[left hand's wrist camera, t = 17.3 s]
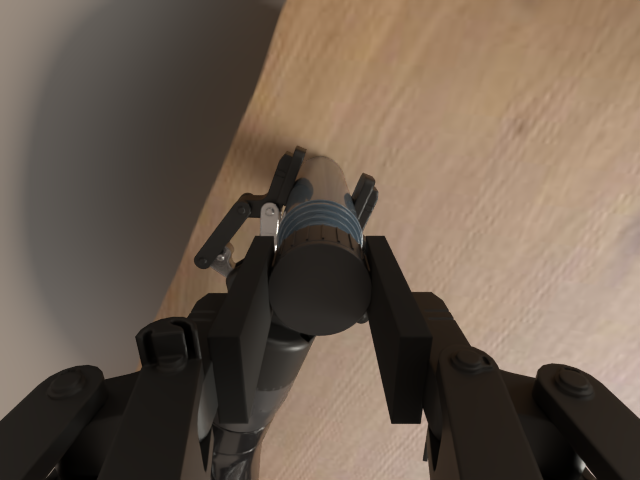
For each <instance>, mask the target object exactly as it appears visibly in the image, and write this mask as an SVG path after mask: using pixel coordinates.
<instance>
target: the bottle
mask: <svg viewBox="0 0 640 480" xmlns="http://www.w3.org/2000/svg"><path fill="white" fill-rule="evenodd" d="M322 224H324V225H327V226H332V227H335V228H336V227H338V228H339V229H341V230H343V231H345V232H346V233H348V234H349V233H350V234H351V236H352V237H353V238H354V239H355V240H356V241H357V243H358V244H359V243H360V244H361V248H362V245H363V234H362V229H361V226H360V223H359V220H358V217H357V214H356V211H355V207H354V204H353V201H352V198H351V195H350V192H349V189H348V186H347V183H346V180H345V177H344V174H343V171H342V169H341V168H340V166H339V165H338V164H337V163H336V162H335V161H333V160H332V159H329V158H327V157H313V158H310V159H308V160H307V161H305V162H304V163H303V164H302V165H301V167H300V169H299V172H298V175H297V177H296V180H295V183H294V185H293V188H292V190H291V193H290V195H289V198H288V201H287V204H286V207H285V210H284V213H283V216H282V220H281V223H280V226H279V229H278V233H277V245H278V249H279V247H280V245H281V244H282V241H283V239H286V238H287V237H288V236H289V235H291V234H292V233H293V231H297V230H299V229H302V228H304V227H307V226H308V225H309V226H313V225H322Z"/></svg>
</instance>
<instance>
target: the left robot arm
mask: <svg viewBox="0 0 640 480" xmlns="http://www.w3.org/2000/svg"><path fill="white" fill-rule="evenodd" d="M274 254H275V247H274V236H255V237H254V239H253V242H252V244H251V246H250V248H249V250H248V252H247V254H246V256H245V258H244V260H243V262H242V265H241V267H240V269H239V271H238V273H237V275H236V277H235V279H234V281H233V283H232V285H231V287H230V290H229V292H228V293H208V294H207V295H205V296H204V297H203V298H201V299H200V300H199V301H197V303H196V304H195V306H194V308H193V309H192V311H191V313H190V314H189V316H188V317H187V318H185V317H170V318H165V319H160V320H158V321H155V322H153V323H150V324H149V325H147V326H146V327H144V328H143V329H141V330H140V331H139V333H138V334H137V335H136V336H135V338H136V342H137V346H138V350H139V355H140V359H141V364H142V368H141V371H138V372H135V373H131V374H127V375H123V376H119V377H114V378H109V379H104V376H103V372H102V371H101V370H100V369H99V368H98V367H95V366H91V365H83V366H75V367H72V368H68V369H65V370H62V371H60V372H58V373H56V374H54V375H52V376H50V377H49V378H47V379H46V380H45V381H43V382H42V383H41V384H39V385H38V386H37V387H36V388H35V389H34V390H33V391H32V392H31V393H29V394H28V395H27V396H26V397H25V398H24V399H23V400H22V401H21V402H20V403H19V404H18V405H17V406H16V407H15V408H14V409H13V410H11V411H10V412H9V413H8V414H7V415H6V416H5V417H4V418H3V419H2V420H1V421H0V480H210V474H211V464H212V454H213V444H214V436H213V429H212V423H213V420H214V417H215V414H216V411H217V412H218V419H219V424H248V423H249V419H250V414H251V409H252V405H253V400H254V396H255V391H256V387H257V382H258V378H259V373H260V369H261V364H262V360H263V355H264V351H265V346H266V342H267V337H268V333H269V328H270V324H271V319H272V315H273V309H272V307H271V305H270V302H269V292H268V280H269V276H270V273H271V269H272V268H271V265H272V261H273V258H274ZM365 255H366V257H367V261H368V264H369V267H370V271H371V273H370V277H371V280H372V289H371V302H370V305H369V307H368V309H367V316H368V320H369V325H370V329H371V334H372V338H373V343H374V347H375V352H376V356H377V361H378V365H379V370H380V374H381V379H382V383H383V388H384V392H385V397H386V401H387V406H388V411H389V415H390V420H391V424H421V417H422V410H424V413H425V416H426V418H427V421H428V429H427V436H426V442H425V449H424V455H423V461H427V460H428V463H429V473H430V480H640V419H639V418H638V417H637V416H636V415H635V414H634V413H633V412H632V411H631V410H630V409H629V408H628V407H627V406H625V405H624V404H623V403H622V402H621V401H620V400H619V399H618V398H617V397H616V396H615V395H614V394H613V393H612V392H610V391H609V390H608V389H607V388H606V387H605V386H604V385H603V384H602V383H601V382H599V381H598V380H597V379H595V378H594V377H593V376H591V375H589V374H587V373H585V372H583V371H581V370H579V369H577V368H574V367H571V366H567V365H564V364H553V363H552V364H547V365H543V366H542V367H541V368H540V369H538V371H537V375H536V378H533V377H528V376H524V375H519V374H515V373H510V372H507V371H504V370H500V369H499V367H498V365H497V364H496V362H495V361H494V360H493V358H492V357H490V356H489V355H488V354H486V353H485V352H484V351H481V350H479V349H477V348H475V347H472V346H471V345H470V344H469V342H468V341H467V339H466V337H465V336H464V334H463V333H462V331H461V329H460V328H459V326H458V324H457V323H456V321H455V320H454V318H453V316H452V315H451V313H450V312H449V310H448V308H447V307H446V305H445V303H444V302H443V300H442V299H440V298H439V297H437V296H436V295H435V294H433V293H432V292H411V290H410V288H409V286H408V284H407V282H406V280H405V278H404V275H403V273H402V271H401V269H400V267H399V265H398V263H397V261H396V259H395V257H394V255H393V253H392V250H391V248H390V246H389V244H388V242H387V240H386V238H385V236H366V243H365ZM585 466H587V467H588V468H589V470H590V471H591V472H592V474H593V475H594V476H595V477H596V478H595V477H594V476H593V475H592V474H591V473H590V472H589V470H588V469H587V468H586V467H585ZM54 467H55V468H54ZM53 468H54V470H53V471H52V469H53ZM51 471H52V472H51ZM50 472H51V473H50ZM49 473H50V475H49V476H48V474H49ZM47 476H48V477H47ZM46 477H47V478H46ZM45 478H46V479H45Z"/></svg>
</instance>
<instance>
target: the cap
mask: <svg viewBox="0 0 640 480" xmlns="http://www.w3.org/2000/svg"><path fill="white" fill-rule="evenodd" d="M271 268H272V269H271V273H270V276H269V280H268V292H269V302H270V305H271V307H272V309H273V311H274V312H275V314H276V315H277V317H278V318H279V319H280V320H281V321H282V322H283V323H284V324H286V325H287V326H288V327H290V328H292V329H294V330H296V331H298V332H301V333H304V334H308V335H316V336H325V335H332V334H336V333H339V332H342V331H344V330H346V329H348V328H350V327H351V326H353V325H354V324H355V323H357V322H358V321H359V320H360V319H361V318H362V316H363V315H364V314H365V312H366V311H367V309H368V307H369V305H370V302H371V289H372V280H371V277H370V273H371V271H370V267H369V264H368V261H367V257H366V255H364V253H363V251H362V248H361V244H360V243H359V244H358V243H357V241H356V240H355V239H354V238H353V237H352V236H351V234H350V233H349V234H348V233H346V232H345V231H343V230H341V229H339V228H338V227H336V228H335V227H332V226H327V225H324V224H322V225H313V226H309V225H308V226H307V227H304V228H302V229H299V230H297V231H293V233H292V234H291V235H289V236H288V237H287V238H286V239H283V241H282V244H281V245H280V247H279V249H278V250H276V251H275V254H274V258H273V261H272V265H271Z"/></svg>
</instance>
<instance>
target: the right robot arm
mask: <svg viewBox="0 0 640 480" xmlns="http://www.w3.org/2000/svg"><path fill="white" fill-rule="evenodd" d="M306 150H307V149H304V148H302V147H299V146H297V147H296V149H295V152H294V154H293V153H291V152H288V151H287V152H286V153H285V154H284V155H283V156H282V158H281V159H280V161H279V163H278V166H277V169H276V172H275V175H274V178H273V180H272V183H271V186H270V189H269V192H268V193H267V194H265V195H253V194H251V193H244V194H243V195H242V196H241V197H240V198H239V199H238V201H237V202H236V203H235V204H234V205H233V207H232V208H231V209H230V211H229V212H228V213H227V215H226V216H225V217H224V219H223V220H222V221H221V223H220V224H219V225H218V227H217V228H216V229H215V231H214V232H213V233H212V235H211V236H210V237H209V239H208V240H207V241H206V243H205V244H204V245H203V247H202V248H201V249H200V251H199V252H198V253H197V255H196V256H195V258H194V263H195V265H196V266H197V267H199V268H201V269H207V268H209V267H211V268H213V269H214V270H216V271H217V272H219V273H220V274H222V275H223V276H225V277H226V285H227V289H228V292H229V290H230V287H231V285H232V283H233V281H234V279H235V277H236V275H237V273H238V271H239V269H240V267H241V265H242V262H243V260H244V259H242V260H241V261H239V262H237V263H234V262H233V260H232V254H233V252H234V247H233V245H232V244H231V243H230V242H229V241H230V240H231V238H232V237H233V236H234V234H235V233H236V232H237V231H238V229H239V228H240V227H241V225H242V224H243V223H244V222H245V220H246V219H247V218H248V217H250V218H261V220H260V236H274V247H275V251H276V250H278V245H277V233H278V229H279V226H280V223H281V220H282V207H283V205H284V206H286V204H287V201H288V198H289V195H290V193H291V190H292V188H293V185H294V183H295V180H296V177H297V175H298V172H299V169H300V167H301V164H302V161H303V159H304V156H305V153H306ZM374 185H375V180H374V178H373V177H372V176H370V175H367V174H365V173H363V174H362V175H361V177H360V179H359V181H358V183H357V186H356V188H355V190H354V192H353V195H352V197H351V198H352V201H353V204H354V207H355V211H356V214H357V217H358V220H359V223H360V226H361V229H362V233H363V230H364V228H365V226H366V223H367V221H368V219H369V217H370V215H371V213H372V211H373V209H374V207H375V205H376V202H377V200H378V191H377V189H376V188H375V187H374ZM365 243H366V237H365V236H364V235H363V245H362V251H363V253H364V255H365ZM367 321H368V316H367V311H366V312H365V314H364V315H363V316H362V318H361V319H360V320H359V321H358V322H357V323H360V324H362V323H365V322H367ZM315 337H316V335H308V334H304V333H301V332H298V331H296V330H294V329H292V328H290V327H288V326H287V325H286V324H284V323H283V322H282V321H281V320H280V319H279V318H278V317H277V315H276V314H275V312H274V311H273V315H272V319H271V324H270V328H269V333H268V337H267V342H266V346H265V351H264V355H263V360H262V364H261V369H260V373H259V378H258V382H257V387H256V391H255V396H254V400H253V405H252V409H251V414H250V419H249V423H248V424H219V419H218V412H217V411H216V414H215V417H214V420H213V423H212V429H213V436H214V444H213V454H212V464H211V474H210V480H259V469H260V454H261V447H262V441H263V439H264V437H265V434H266V432H267V430H268V428H269V426H270V424H271V422H272V420H273V418H274V416H275V414H276V412H277V411H278V409H279V408H280V406H281V405H282V404H283V402H284V401H285V399H286V397H287V395H288V393H289V391H290V389H291V387H292V385H293V383H294V380H295V378H296V376H297V374H298V372H299V370H300V368H301V366H302V364H303V362H304V360H305V357H306V355H307V353H308V351H309V349H310V347H311V345H312V343H313V341H314V339H315Z"/></svg>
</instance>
